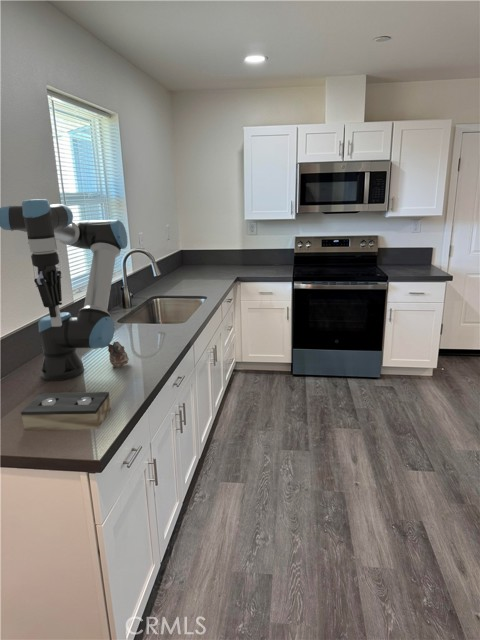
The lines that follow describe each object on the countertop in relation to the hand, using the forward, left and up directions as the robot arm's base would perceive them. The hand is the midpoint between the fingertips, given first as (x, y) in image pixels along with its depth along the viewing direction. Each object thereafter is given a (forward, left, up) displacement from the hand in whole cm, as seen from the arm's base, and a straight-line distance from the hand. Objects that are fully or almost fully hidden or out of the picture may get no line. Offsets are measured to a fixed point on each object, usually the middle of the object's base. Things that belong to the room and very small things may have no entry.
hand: (57, 325), depth 137 cm
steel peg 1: (+14, 0, -26) cm, 29 cm away
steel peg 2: (+14, +11, -26) cm, 31 cm away
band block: (+14, +6, -26) cm, 30 cm away
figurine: (-30, +8, -24) cm, 39 cm away
